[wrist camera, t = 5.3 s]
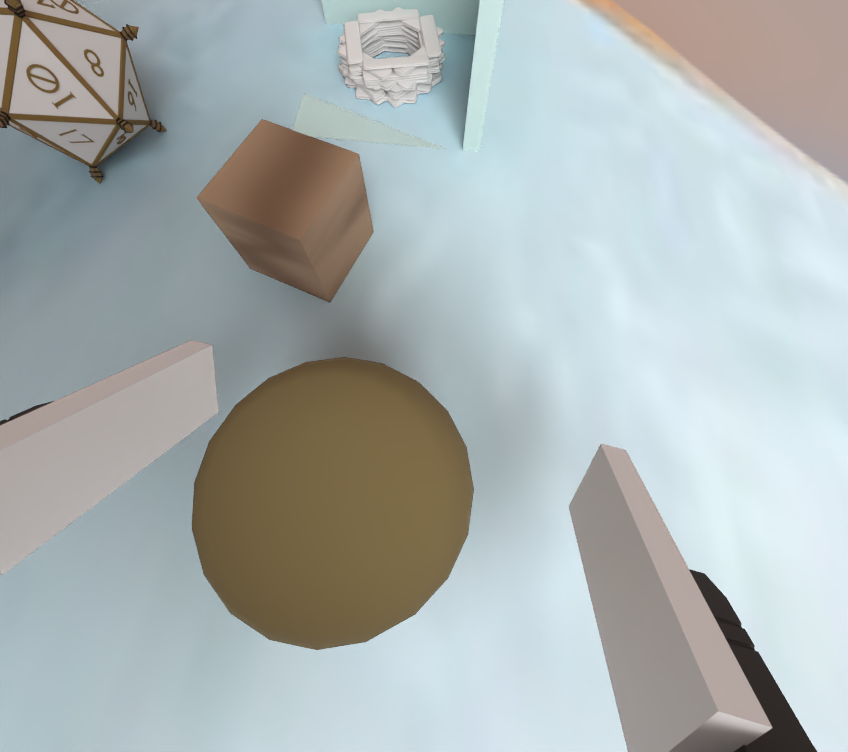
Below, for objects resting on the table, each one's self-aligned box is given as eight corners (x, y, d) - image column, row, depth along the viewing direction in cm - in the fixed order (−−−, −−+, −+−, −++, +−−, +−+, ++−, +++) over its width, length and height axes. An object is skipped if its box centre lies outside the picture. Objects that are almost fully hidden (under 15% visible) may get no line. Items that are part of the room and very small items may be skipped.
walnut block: (250, 269, 20) (196, 198, 15) (298, 203, 21) (262, 119, 16) (330, 303, 19) (299, 239, 14) (373, 232, 20) (358, 153, 16)
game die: (156, 173, 27) (93, -23, 21) (210, 188, 22) (149, -55, 17) (-19, 179, 21) (-172, -92, 15) (8, 200, 16) (-192, -168, 11)
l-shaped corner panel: (328, 16, 27) (293, -160, 19) (490, 29, 26) (516, -146, 19) (290, 134, 23) (230, -30, 16) (479, 152, 22) (505, -9, 15)
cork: (405, 399, 17) (377, 254, 7) (481, 509, 16) (598, 537, 5) (293, 473, 16) (59, 435, 6) (364, 599, 15) (220, 859, 4)
